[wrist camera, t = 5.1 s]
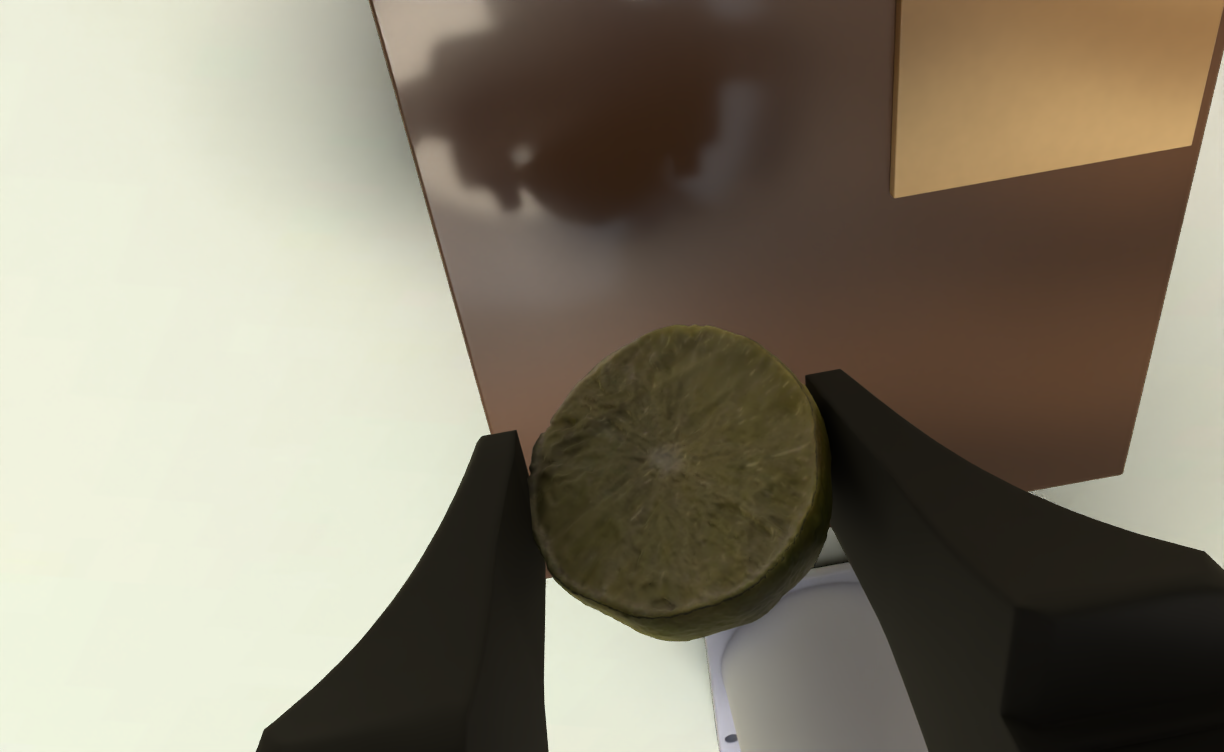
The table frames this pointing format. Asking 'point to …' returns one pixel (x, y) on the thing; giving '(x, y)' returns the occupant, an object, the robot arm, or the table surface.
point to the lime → (683, 484)
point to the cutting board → (819, 197)
